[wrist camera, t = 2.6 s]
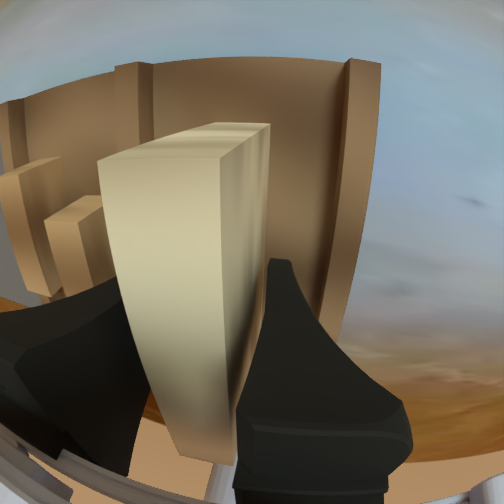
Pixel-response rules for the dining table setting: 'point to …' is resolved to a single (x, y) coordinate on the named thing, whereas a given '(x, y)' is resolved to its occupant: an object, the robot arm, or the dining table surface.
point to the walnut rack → (236, 111)
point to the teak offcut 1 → (34, 219)
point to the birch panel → (192, 271)
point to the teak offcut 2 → (81, 245)
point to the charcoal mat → (12, 266)
